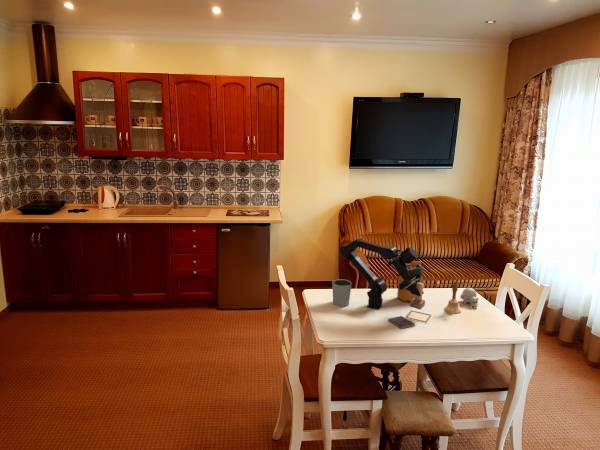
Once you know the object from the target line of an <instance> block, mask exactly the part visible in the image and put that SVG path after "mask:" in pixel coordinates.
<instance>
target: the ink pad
mask: <svg viewBox="0 0 600 450" xmlns="http://www.w3.org/2000/svg"><path fill="white" fill-rule="evenodd" d="M404 317H405V316H402V315H400V316H395V317H390V318H388V319H387V321H389V322H390V323H391V324H393V325H395V326H397V327H398V328H400V329H407V328H411V327H415V326H416V323H414V322H412V321H411V320H410V319H406V318H404Z"/></svg>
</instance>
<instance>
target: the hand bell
mask: <svg viewBox="0 0 600 450" xmlns="http://www.w3.org/2000/svg"><path fill="white" fill-rule="evenodd" d="M451 290H452V296H451V298H450V299H449V300H448V303H447V304H446V306H445V307H444V309H443V310H444V311H445V312H447V313H449V314H452V315H453V314H454V315H456V314H457V315H458V314H460V313H461V312H462V310H461V309H460V308H459V301H458V300H457V299H456V298H457V297H456V295H457V292H458V281H453V284H452V287H451Z"/></svg>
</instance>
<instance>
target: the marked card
mask: <svg viewBox="0 0 600 450" xmlns="http://www.w3.org/2000/svg"><path fill="white" fill-rule="evenodd" d="M403 317H404V318H406V319H407V320H409V321H411V320H412V321H415V322H420V323H424V324H427V325H428V324H429V322H430V321H431V320H432V318H433V317H434V315H433V314H431V313H426V312H421V311H416V310H412V309H409V310H408V311H407V313H406V314H405V316H403Z"/></svg>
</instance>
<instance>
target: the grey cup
mask: <svg viewBox="0 0 600 450" xmlns="http://www.w3.org/2000/svg"><path fill="white" fill-rule="evenodd" d="M331 285H332V287H331V288H332V304H333V306H335V305H336V307H338V306H339V307H340V308H346V307H348V306H350V299H351V298H350V296H351V290H352V282H351V280H348V279H343V278H341V279H340V278H339V279H335V280H332V282H331Z"/></svg>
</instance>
